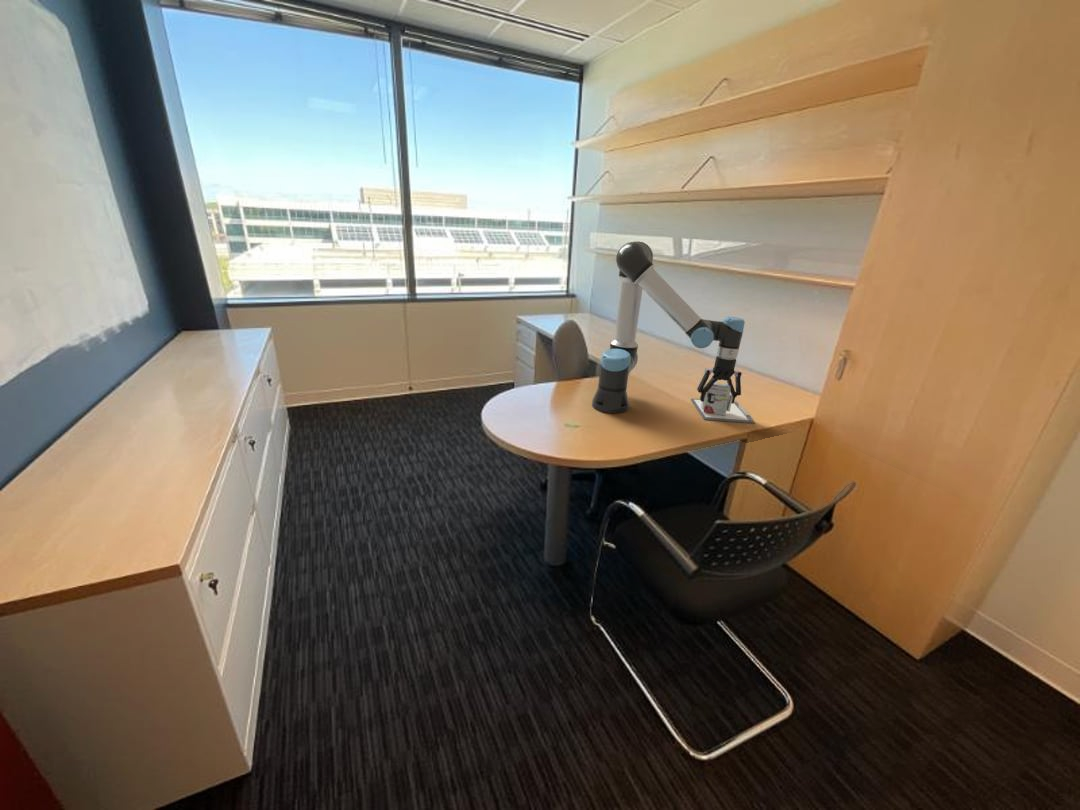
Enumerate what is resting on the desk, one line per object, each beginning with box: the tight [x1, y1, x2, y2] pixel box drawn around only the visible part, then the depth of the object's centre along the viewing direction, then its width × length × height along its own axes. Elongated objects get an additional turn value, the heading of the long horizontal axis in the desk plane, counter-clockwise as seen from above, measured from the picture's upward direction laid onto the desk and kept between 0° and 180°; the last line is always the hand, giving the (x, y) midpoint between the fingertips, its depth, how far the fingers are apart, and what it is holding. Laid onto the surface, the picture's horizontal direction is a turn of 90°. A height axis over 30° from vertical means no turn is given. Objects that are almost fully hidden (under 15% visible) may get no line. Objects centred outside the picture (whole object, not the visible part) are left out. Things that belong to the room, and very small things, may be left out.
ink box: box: [704, 381, 731, 415], centre depth 180 cm, size 9×5×12 cm, turn 63°
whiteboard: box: [690, 398, 756, 424], centre depth 186 cm, size 20×22×1 cm
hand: (714, 409), depth 182 cm, fingers closed on ink box, 9 cm apart
